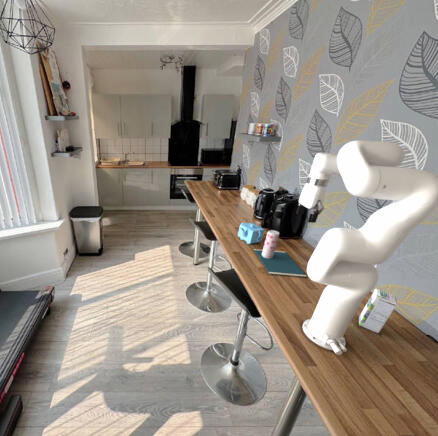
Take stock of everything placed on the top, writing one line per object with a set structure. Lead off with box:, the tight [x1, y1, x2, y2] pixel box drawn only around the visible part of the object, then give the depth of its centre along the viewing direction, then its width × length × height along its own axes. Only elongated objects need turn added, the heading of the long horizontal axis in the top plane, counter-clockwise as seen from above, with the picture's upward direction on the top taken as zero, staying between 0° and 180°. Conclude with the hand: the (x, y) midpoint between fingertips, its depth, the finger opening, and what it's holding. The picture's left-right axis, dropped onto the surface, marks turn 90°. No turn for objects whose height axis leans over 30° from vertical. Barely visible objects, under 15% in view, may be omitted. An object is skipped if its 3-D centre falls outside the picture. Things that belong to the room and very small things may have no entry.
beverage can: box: [262, 229, 280, 259], centre depth 128 cm, size 6×6×15 cm
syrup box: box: [358, 288, 398, 334], centre depth 86 cm, size 6×6×14 cm
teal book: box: [253, 248, 308, 278], centre depth 127 cm, size 24×18×1 cm
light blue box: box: [237, 222, 265, 245], centre depth 146 cm, size 16×18×11 cm
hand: (305, 218), depth 109 cm, fingers open, 9 cm apart
